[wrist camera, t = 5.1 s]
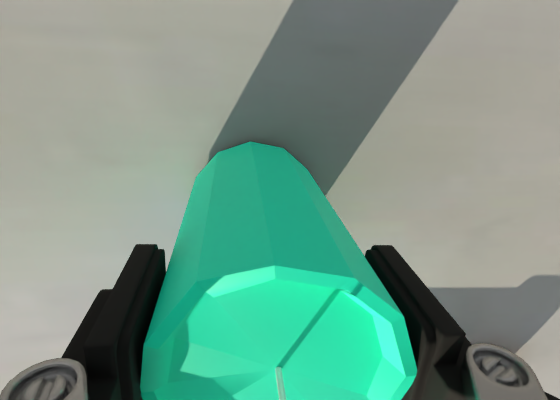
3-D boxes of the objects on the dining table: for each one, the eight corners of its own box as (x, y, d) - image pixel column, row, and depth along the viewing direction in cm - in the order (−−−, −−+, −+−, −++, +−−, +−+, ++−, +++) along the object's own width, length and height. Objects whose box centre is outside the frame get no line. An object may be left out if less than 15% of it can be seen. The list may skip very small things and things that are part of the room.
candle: (315, 137, 16) (483, 301, 5) (315, 251, 19) (433, 531, 8) (182, 145, 16) (65, 348, 5) (199, 262, 18) (145, 583, 7)
